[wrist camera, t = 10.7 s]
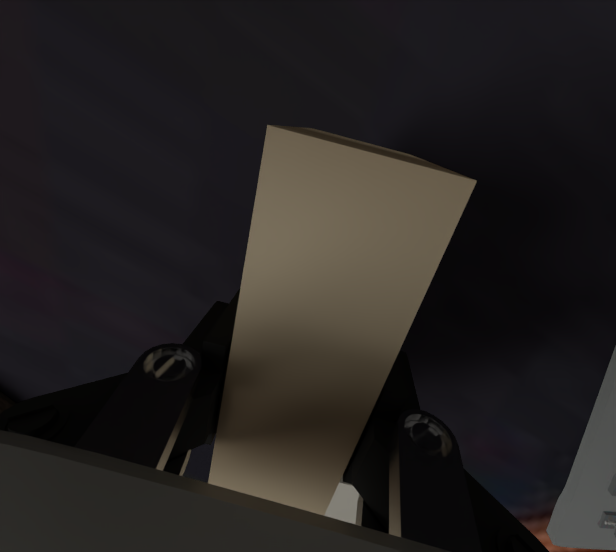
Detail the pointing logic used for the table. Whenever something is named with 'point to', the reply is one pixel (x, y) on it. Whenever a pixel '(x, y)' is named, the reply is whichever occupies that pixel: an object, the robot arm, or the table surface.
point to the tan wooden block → (325, 306)
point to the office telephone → (591, 480)
